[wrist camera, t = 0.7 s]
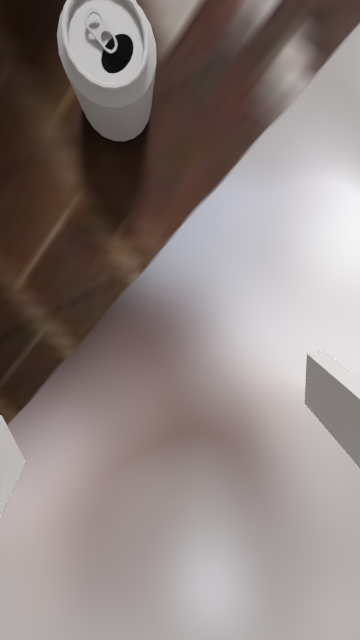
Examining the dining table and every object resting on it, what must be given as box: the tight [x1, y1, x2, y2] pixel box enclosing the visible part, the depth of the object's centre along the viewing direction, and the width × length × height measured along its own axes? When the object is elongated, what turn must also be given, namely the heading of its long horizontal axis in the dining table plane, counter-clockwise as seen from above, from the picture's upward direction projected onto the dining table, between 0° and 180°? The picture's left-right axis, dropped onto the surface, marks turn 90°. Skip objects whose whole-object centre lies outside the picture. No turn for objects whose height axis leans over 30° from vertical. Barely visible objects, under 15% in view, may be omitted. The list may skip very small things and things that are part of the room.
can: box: [57, 0, 156, 141], centre depth 25 cm, size 8×8×12 cm
